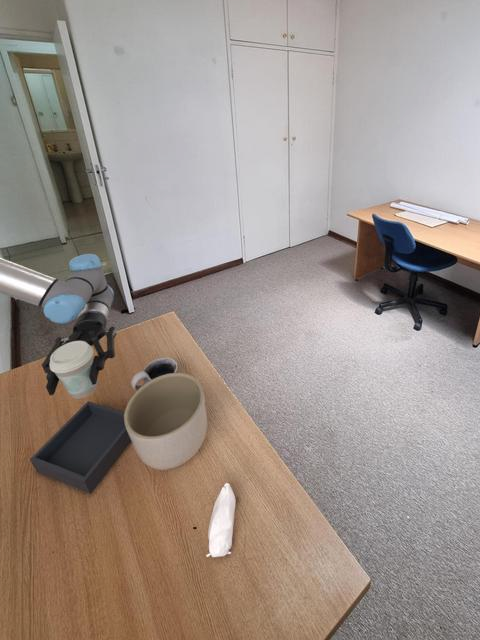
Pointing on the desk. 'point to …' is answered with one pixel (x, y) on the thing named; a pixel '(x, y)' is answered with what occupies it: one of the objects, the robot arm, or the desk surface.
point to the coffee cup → (74, 368)
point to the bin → (84, 447)
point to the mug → (155, 371)
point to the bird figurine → (222, 523)
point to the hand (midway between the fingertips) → (71, 385)
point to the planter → (167, 420)
